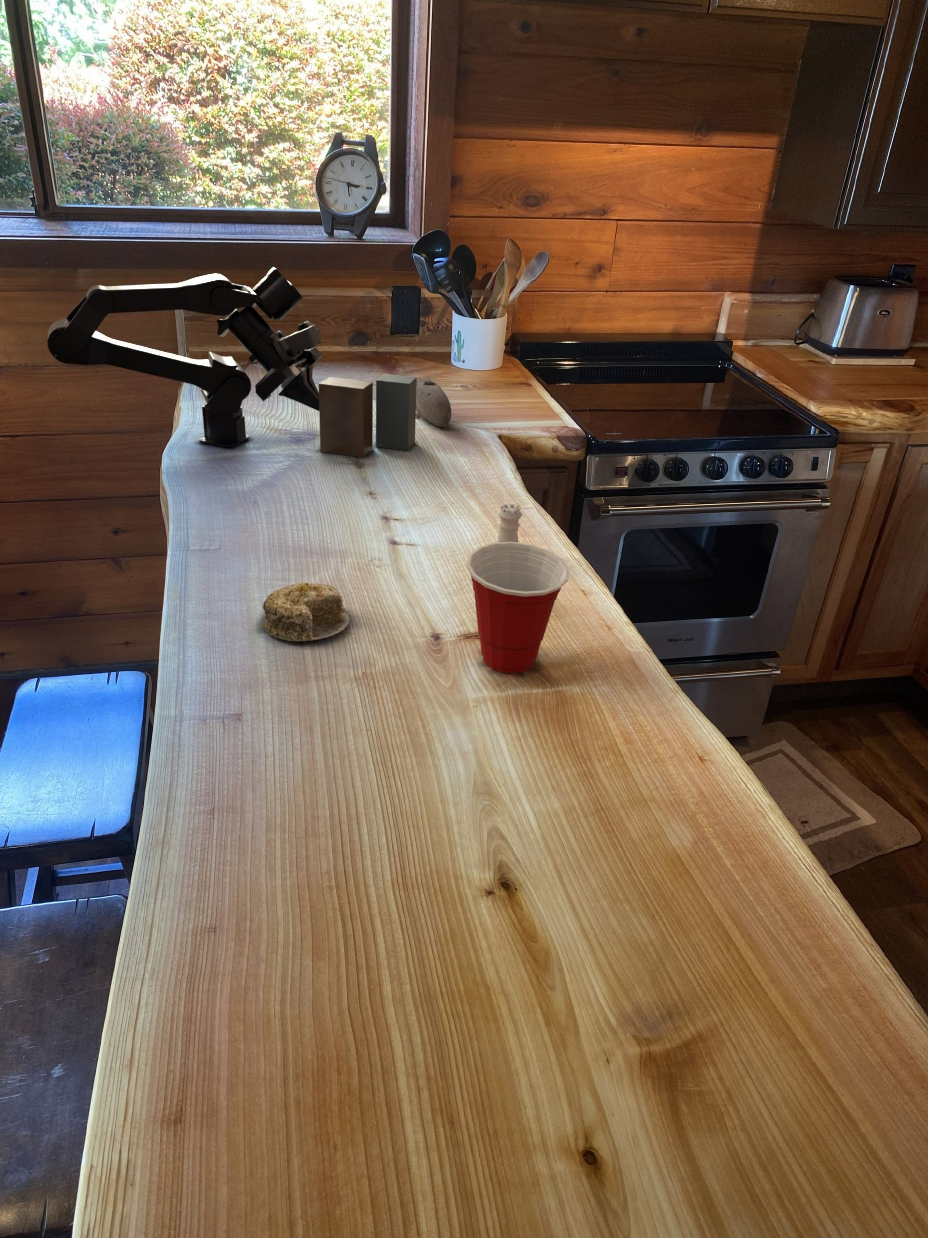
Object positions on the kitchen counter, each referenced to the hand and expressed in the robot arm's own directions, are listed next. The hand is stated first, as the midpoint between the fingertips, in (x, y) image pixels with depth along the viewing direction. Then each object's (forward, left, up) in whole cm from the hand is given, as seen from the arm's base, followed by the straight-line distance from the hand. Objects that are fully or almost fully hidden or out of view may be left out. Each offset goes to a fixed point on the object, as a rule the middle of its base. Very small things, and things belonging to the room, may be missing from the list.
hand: (323, 409), depth 157 cm
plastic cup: (+54, -54, -7) cm, 77 cm away
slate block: (+10, +8, -7) cm, 14 cm away
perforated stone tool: (+10, +25, -7) cm, 28 cm away
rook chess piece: (+45, -30, -7) cm, 55 cm away
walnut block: (+4, 0, -7) cm, 8 cm away
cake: (+30, -57, -7) cm, 65 cm away
